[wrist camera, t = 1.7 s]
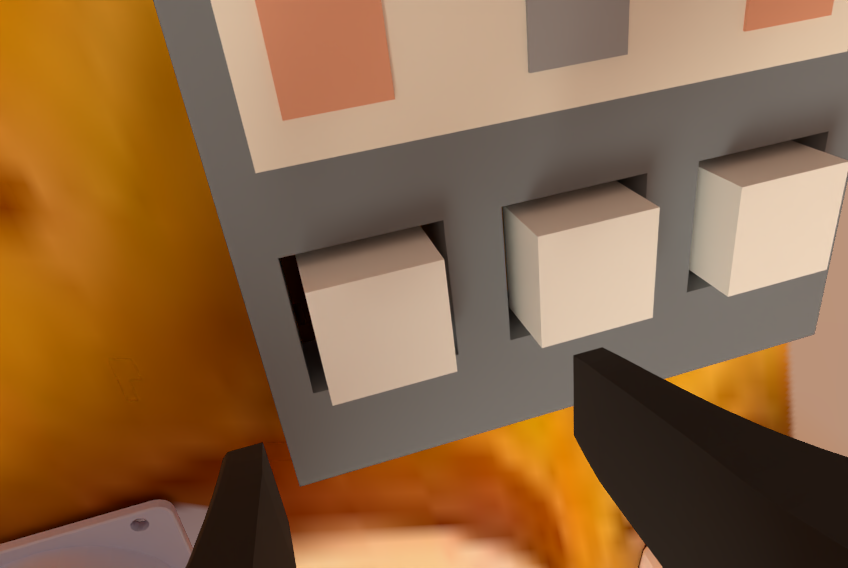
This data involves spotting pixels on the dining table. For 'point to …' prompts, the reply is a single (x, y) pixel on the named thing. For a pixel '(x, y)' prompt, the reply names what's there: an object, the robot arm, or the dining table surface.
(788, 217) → the button
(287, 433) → the button board
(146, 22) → the dining table surface
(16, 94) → the dining table surface
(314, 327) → the button
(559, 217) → the middle button
